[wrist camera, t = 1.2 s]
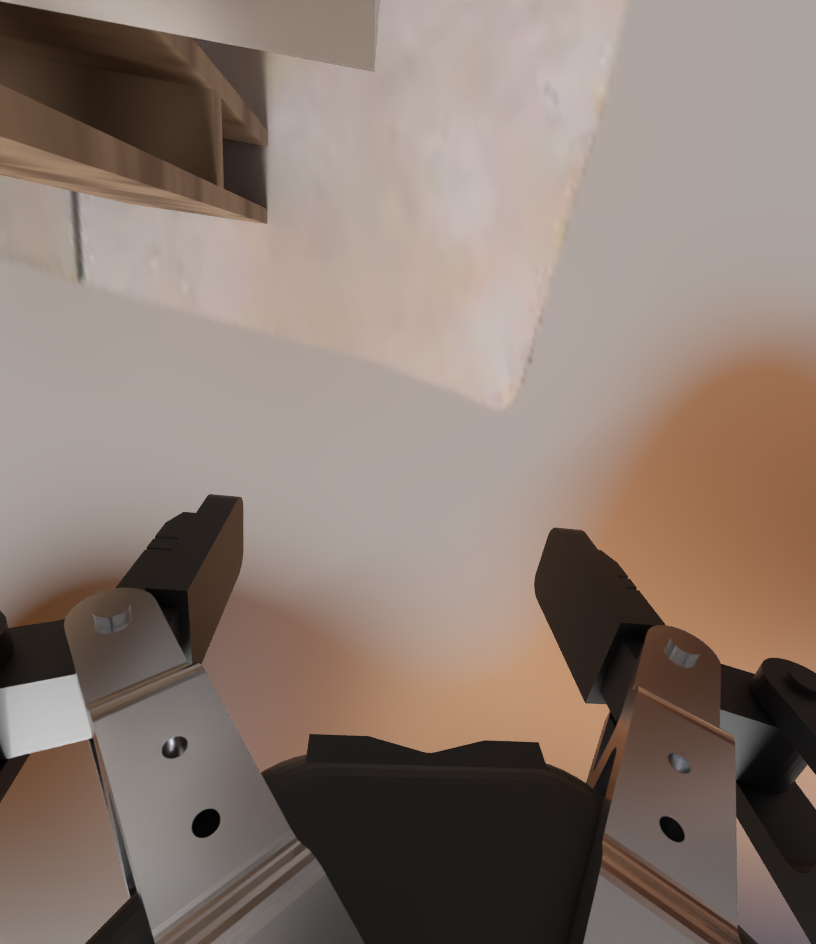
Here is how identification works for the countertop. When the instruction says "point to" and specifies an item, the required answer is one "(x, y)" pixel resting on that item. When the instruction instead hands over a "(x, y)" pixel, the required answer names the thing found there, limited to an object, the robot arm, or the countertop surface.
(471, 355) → the countertop surface
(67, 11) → the power strip
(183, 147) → the tall wooden block
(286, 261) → the countertop surface
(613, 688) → the robot arm
